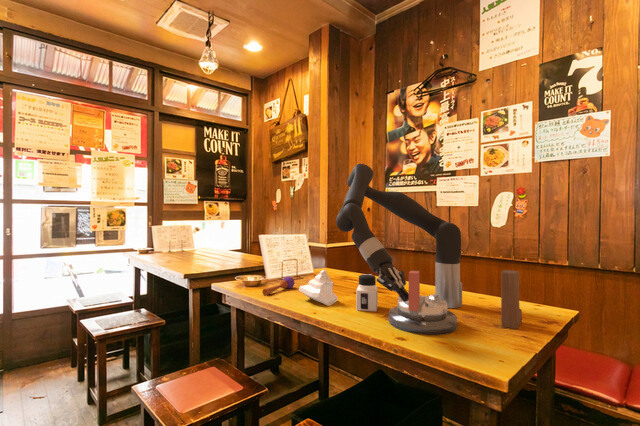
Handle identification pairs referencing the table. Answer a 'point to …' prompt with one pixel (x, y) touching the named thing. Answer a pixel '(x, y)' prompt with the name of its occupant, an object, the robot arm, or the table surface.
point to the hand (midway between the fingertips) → (407, 299)
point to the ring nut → (421, 303)
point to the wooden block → (510, 299)
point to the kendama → (285, 283)
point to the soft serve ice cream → (320, 289)
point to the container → (366, 293)
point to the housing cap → (423, 324)
